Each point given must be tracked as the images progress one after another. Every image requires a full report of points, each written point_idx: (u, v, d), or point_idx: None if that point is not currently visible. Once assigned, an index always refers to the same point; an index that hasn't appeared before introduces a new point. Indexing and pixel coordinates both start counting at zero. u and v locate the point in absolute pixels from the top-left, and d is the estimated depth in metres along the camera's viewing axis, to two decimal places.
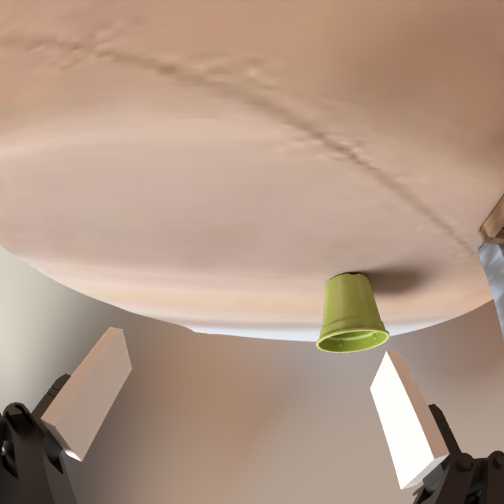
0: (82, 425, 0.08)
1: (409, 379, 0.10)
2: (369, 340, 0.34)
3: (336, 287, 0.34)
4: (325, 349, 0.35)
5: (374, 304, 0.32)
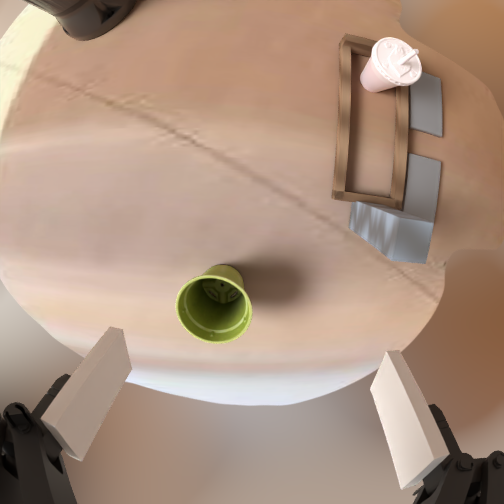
0: (82, 425, 0.08)
1: (409, 379, 0.10)
2: (240, 326, 0.34)
3: None
4: (191, 331, 0.34)
5: (236, 279, 0.36)
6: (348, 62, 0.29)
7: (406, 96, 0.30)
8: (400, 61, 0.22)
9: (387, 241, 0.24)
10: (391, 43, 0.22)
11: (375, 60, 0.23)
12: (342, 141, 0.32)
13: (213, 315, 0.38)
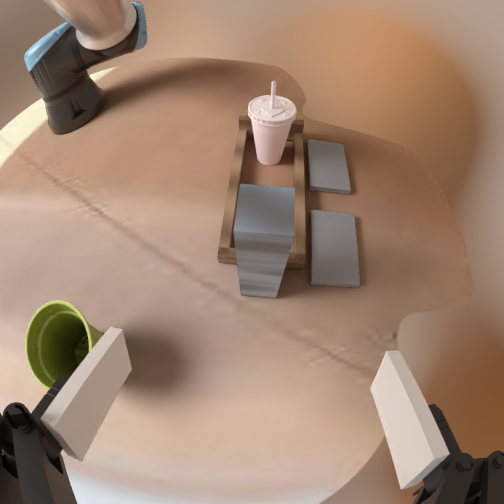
0: (82, 425, 0.08)
1: (409, 379, 0.10)
2: None
3: None
4: (33, 370, 0.19)
5: (96, 332, 0.25)
6: (242, 139, 0.40)
7: (301, 158, 0.39)
8: (270, 105, 0.32)
9: None
10: (266, 98, 0.34)
11: (249, 111, 0.33)
12: (228, 201, 0.35)
13: None
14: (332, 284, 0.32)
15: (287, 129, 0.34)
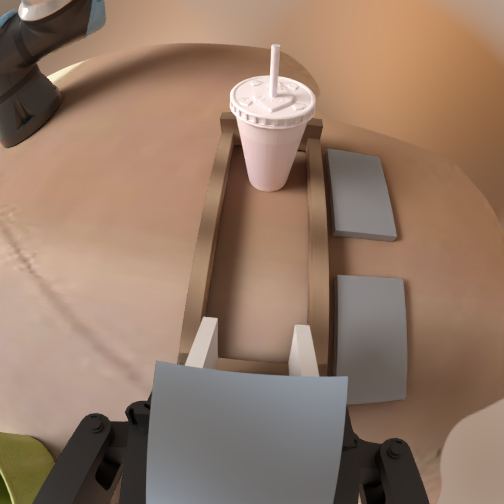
0: None
1: (308, 351, 0.12)
2: None
3: None
4: None
5: (23, 456, 0.11)
6: (225, 150, 0.25)
7: (320, 181, 0.24)
8: (270, 89, 0.17)
9: None
10: (263, 81, 0.19)
11: (231, 102, 0.18)
12: (197, 264, 0.20)
13: None
14: (365, 402, 0.17)
15: (299, 134, 0.19)
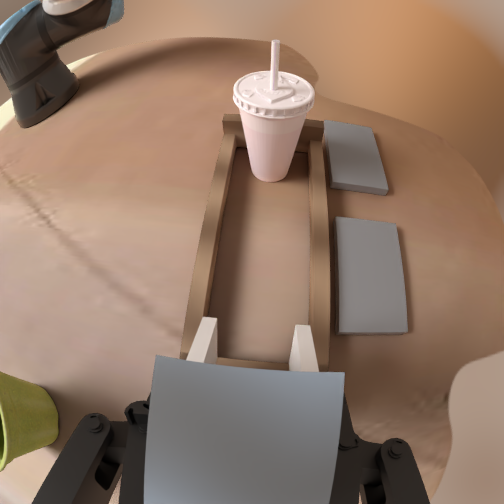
0: None
1: (309, 351, 0.12)
2: None
3: None
4: None
5: (24, 394, 0.13)
6: (227, 152, 0.26)
7: (322, 183, 0.24)
8: (270, 82, 0.18)
9: None
10: (265, 75, 0.20)
11: (234, 94, 0.19)
12: (199, 265, 0.20)
13: None
14: (368, 333, 0.20)
15: (299, 125, 0.20)
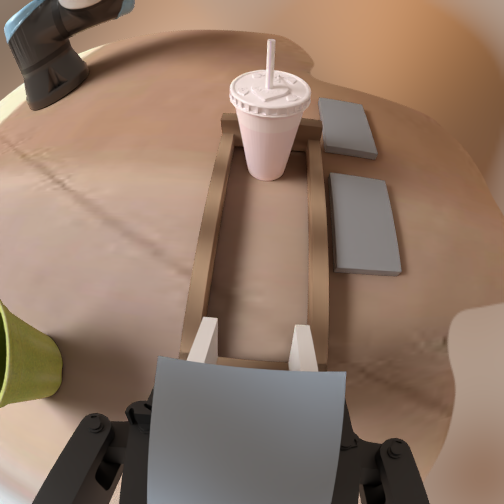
0: None
1: (308, 350, 0.12)
2: None
3: None
4: None
5: (31, 333, 0.15)
6: (226, 151, 0.26)
7: (320, 182, 0.24)
8: (266, 81, 0.18)
9: None
10: (264, 74, 0.20)
11: (230, 92, 0.19)
12: (197, 264, 0.20)
13: None
14: (364, 271, 0.22)
15: (293, 125, 0.20)
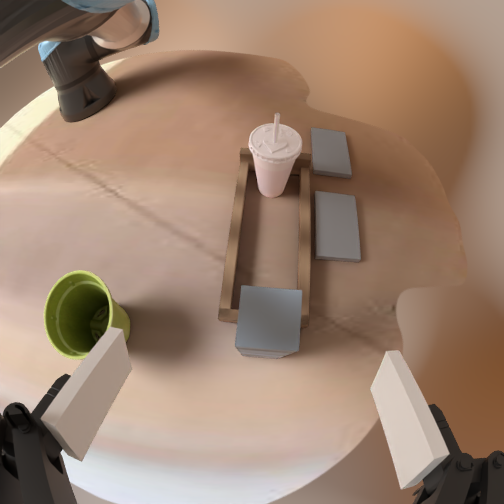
0: (82, 425, 0.08)
1: (409, 379, 0.10)
2: None
3: None
4: (51, 339, 0.22)
5: (114, 301, 0.28)
6: (243, 176, 0.38)
7: (307, 200, 0.36)
8: (273, 138, 0.30)
9: None
10: (271, 128, 0.32)
11: (249, 143, 0.31)
12: (229, 254, 0.33)
13: (87, 348, 0.27)
14: (335, 258, 0.35)
15: (290, 165, 0.32)
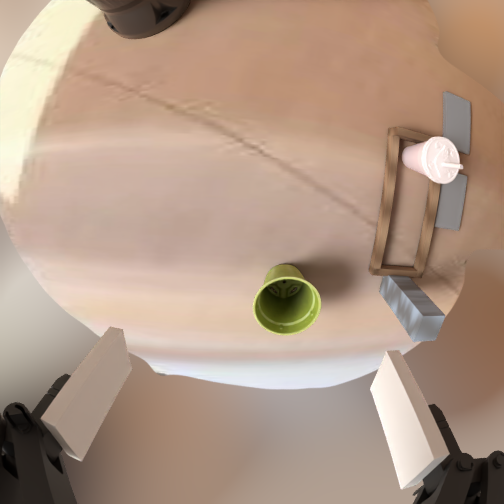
0: (82, 425, 0.08)
1: (409, 379, 0.10)
2: (308, 319, 0.39)
3: (270, 272, 0.43)
4: (264, 326, 0.39)
5: (303, 278, 0.40)
6: (396, 153, 0.36)
7: (439, 183, 0.36)
8: (444, 164, 0.28)
9: (412, 326, 0.32)
10: (441, 143, 0.28)
11: (424, 159, 0.29)
12: (383, 229, 0.39)
13: (278, 310, 0.43)
14: (444, 227, 0.40)
15: None
